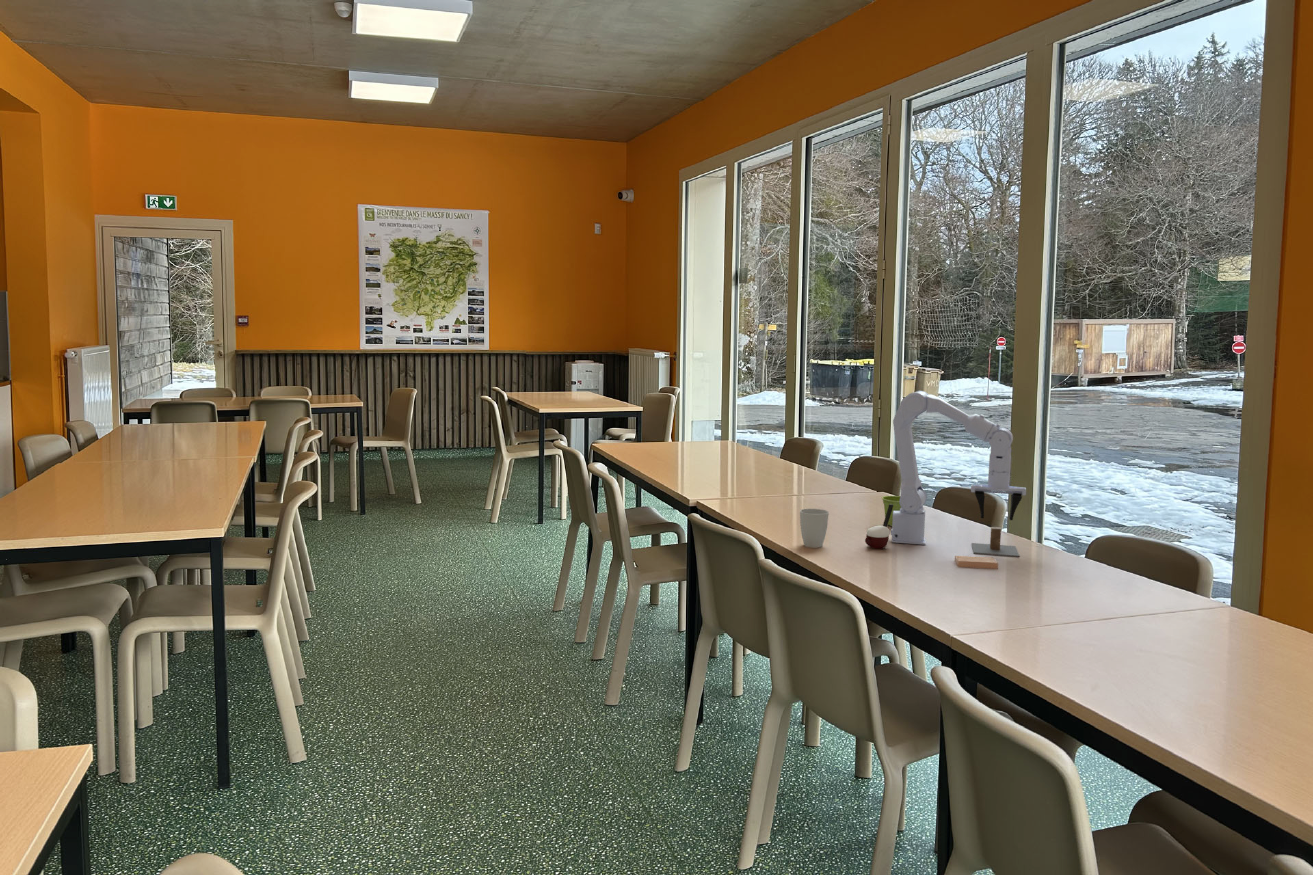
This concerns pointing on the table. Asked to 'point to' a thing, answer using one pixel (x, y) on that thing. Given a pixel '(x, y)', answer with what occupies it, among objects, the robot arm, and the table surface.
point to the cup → (813, 526)
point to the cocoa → (879, 533)
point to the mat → (1003, 550)
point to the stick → (995, 538)
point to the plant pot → (896, 505)
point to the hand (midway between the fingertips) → (996, 518)
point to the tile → (976, 562)
